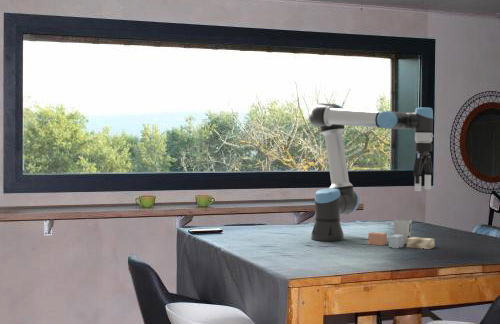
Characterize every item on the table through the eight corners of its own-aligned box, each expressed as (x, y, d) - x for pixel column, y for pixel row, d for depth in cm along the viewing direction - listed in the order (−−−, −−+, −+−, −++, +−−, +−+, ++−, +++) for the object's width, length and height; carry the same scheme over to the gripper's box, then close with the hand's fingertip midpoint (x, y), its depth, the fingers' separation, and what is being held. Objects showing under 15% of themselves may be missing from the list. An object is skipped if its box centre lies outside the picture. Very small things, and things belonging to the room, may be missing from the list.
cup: (411, 244, 298) (411, 222, 298) (393, 244, 300) (393, 221, 299) (411, 242, 306) (411, 220, 306) (392, 241, 307) (393, 219, 307)
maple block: (406, 247, 291) (406, 238, 291) (412, 245, 296) (412, 236, 296) (429, 249, 285) (429, 240, 285) (434, 248, 290) (434, 238, 290)
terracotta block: (368, 244, 300) (368, 233, 300) (372, 243, 303) (372, 232, 303) (383, 245, 296) (383, 234, 296) (386, 244, 299) (386, 233, 299)
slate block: (397, 248, 288) (397, 236, 287) (388, 247, 290) (388, 236, 290) (403, 246, 293) (403, 235, 293) (395, 245, 296) (395, 234, 295)
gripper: (422, 142, 286) (422, 192, 287) (440, 142, 307) (439, 188, 308) (405, 142, 290) (404, 191, 291) (424, 142, 311) (423, 188, 312)
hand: (422, 190), depth 299 cm, fingers open, 13 cm apart
